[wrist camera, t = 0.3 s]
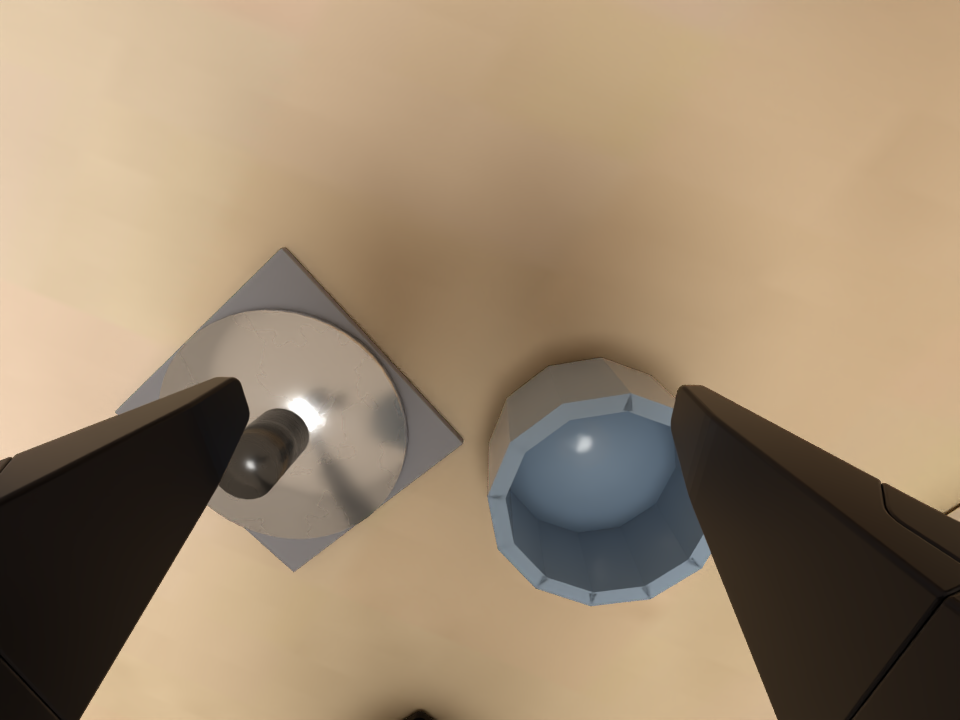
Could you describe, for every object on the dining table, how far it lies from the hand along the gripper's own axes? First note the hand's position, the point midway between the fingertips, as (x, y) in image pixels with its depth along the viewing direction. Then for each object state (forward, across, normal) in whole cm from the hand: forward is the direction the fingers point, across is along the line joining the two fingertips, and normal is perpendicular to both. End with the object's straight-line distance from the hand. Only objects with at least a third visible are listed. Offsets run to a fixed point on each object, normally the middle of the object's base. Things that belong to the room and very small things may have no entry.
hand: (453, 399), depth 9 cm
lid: (+12, +11, +10) cm, 20 cm away
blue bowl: (+13, -6, +12) cm, 18 cm away
